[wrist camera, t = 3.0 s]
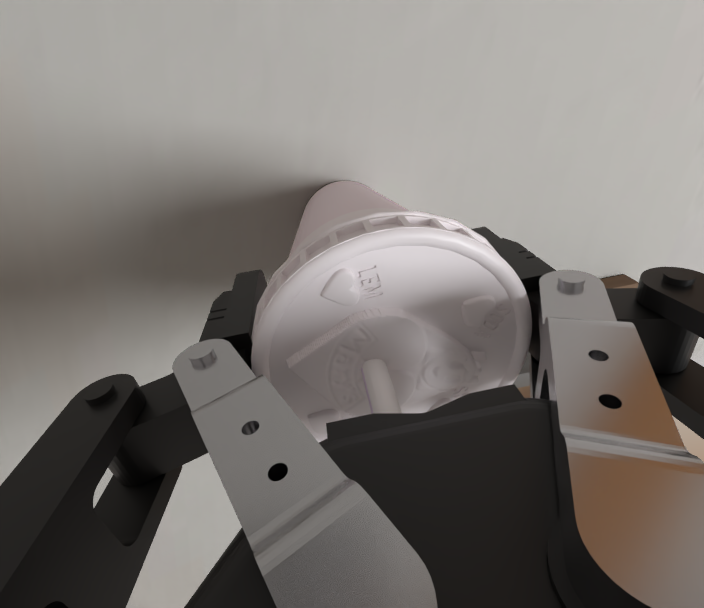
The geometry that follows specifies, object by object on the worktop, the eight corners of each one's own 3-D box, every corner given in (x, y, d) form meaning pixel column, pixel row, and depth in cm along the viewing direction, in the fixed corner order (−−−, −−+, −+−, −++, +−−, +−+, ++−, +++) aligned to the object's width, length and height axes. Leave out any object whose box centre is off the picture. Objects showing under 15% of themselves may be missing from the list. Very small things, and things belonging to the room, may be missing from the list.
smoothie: (273, 134, 15) (188, 390, 3) (432, 156, 16) (874, 396, 4) (267, 284, 18) (217, 715, 6) (400, 293, 19) (591, 663, 7)
